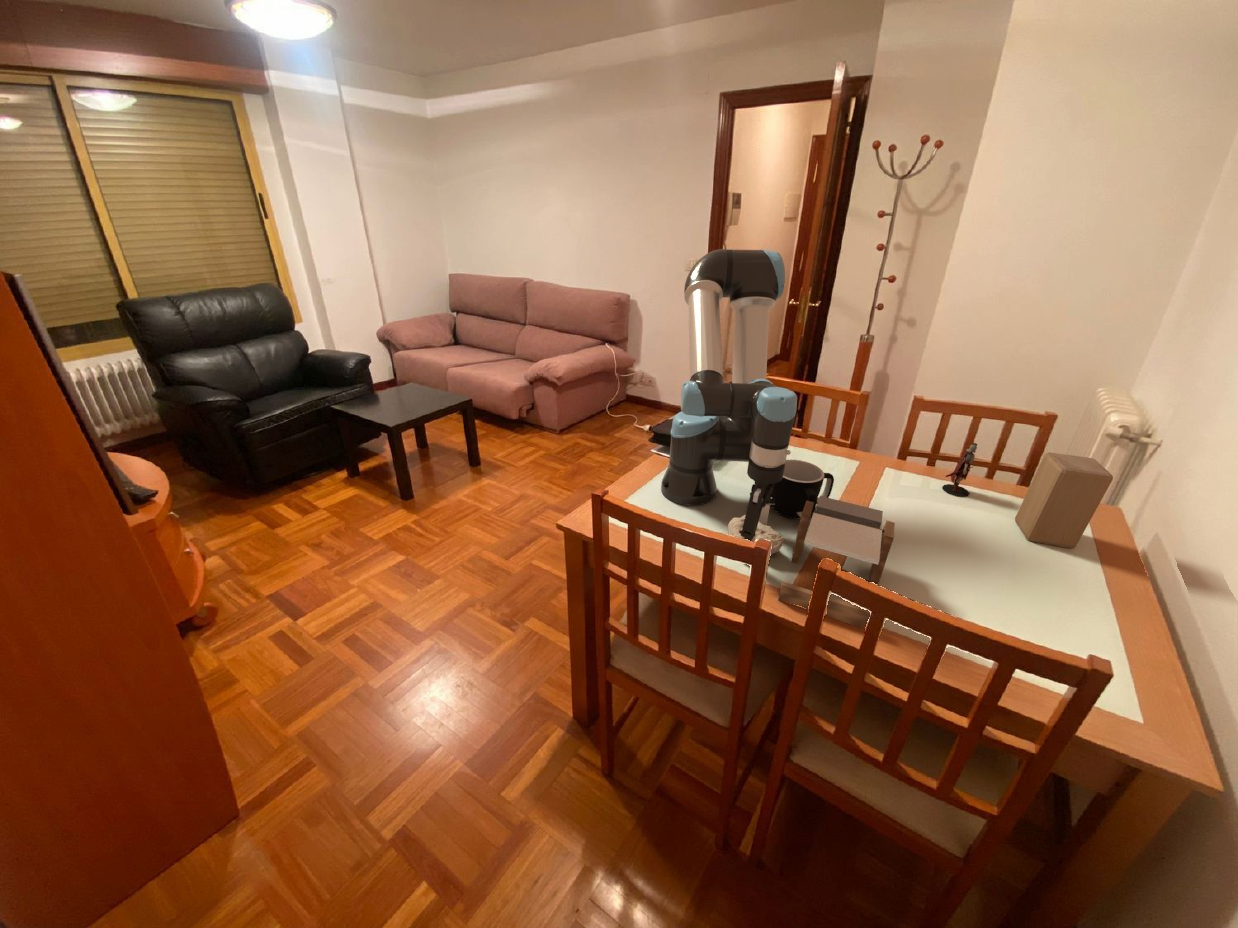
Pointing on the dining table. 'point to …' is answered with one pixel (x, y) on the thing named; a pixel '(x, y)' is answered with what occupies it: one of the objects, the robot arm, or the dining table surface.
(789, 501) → the mug
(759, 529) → the stone
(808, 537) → the trapdoor
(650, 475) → the dining table surface
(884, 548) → the frame
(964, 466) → the figurine
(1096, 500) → the wooden block
